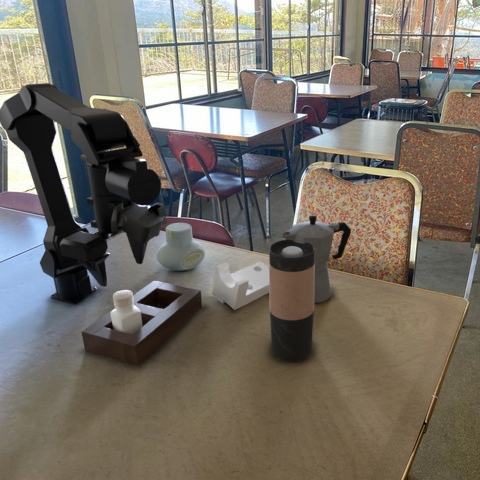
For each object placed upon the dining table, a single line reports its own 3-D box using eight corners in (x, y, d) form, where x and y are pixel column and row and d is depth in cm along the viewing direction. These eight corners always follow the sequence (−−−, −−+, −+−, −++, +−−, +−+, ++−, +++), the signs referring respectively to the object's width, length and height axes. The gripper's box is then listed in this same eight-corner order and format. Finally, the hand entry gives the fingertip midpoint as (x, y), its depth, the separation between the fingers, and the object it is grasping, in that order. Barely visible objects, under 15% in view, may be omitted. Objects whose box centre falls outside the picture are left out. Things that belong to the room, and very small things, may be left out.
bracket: (233, 313, 98) (238, 285, 94) (212, 294, 101) (216, 266, 97) (279, 290, 107) (285, 263, 103) (257, 273, 110) (263, 246, 106)
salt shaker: (133, 330, 90) (126, 286, 86) (145, 339, 88) (139, 293, 84) (113, 340, 87) (105, 294, 83) (125, 349, 85) (118, 302, 81)
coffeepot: (289, 309, 98) (290, 227, 91) (275, 288, 106) (274, 211, 99) (356, 296, 104) (362, 218, 97) (338, 276, 112) (342, 203, 105)
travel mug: (280, 368, 81) (279, 261, 73) (264, 343, 87) (261, 243, 79) (320, 355, 84) (323, 253, 76) (301, 333, 91) (303, 235, 83)
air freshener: (188, 253, 121) (185, 216, 117) (211, 262, 117) (208, 224, 113) (152, 268, 113) (147, 229, 109) (174, 279, 109) (170, 238, 105)
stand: (84, 350, 84) (81, 331, 82) (156, 297, 101) (154, 280, 100) (138, 365, 81) (135, 345, 79) (202, 307, 98) (200, 290, 96)
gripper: (109, 216, 69) (123, 309, 75) (184, 182, 85) (191, 261, 91) (48, 205, 72) (67, 295, 78) (132, 174, 88) (142, 250, 94)
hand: (122, 274), depth 85 cm, fingers open, 9 cm apart
